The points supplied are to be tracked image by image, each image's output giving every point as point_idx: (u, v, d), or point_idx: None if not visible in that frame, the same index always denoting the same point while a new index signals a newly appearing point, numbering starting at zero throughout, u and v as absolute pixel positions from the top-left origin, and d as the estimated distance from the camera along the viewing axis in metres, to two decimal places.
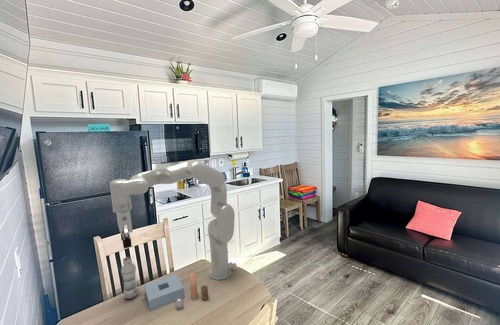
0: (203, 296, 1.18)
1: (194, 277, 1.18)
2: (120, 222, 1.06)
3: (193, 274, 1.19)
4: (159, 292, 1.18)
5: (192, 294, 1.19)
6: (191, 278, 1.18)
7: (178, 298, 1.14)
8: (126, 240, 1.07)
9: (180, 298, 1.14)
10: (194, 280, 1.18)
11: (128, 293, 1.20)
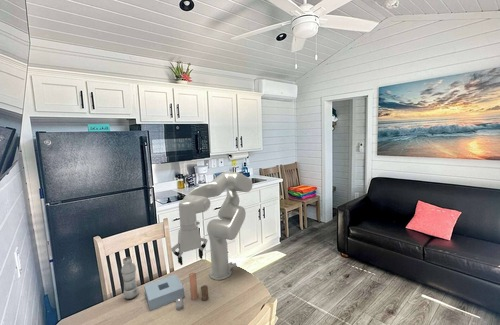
0: (203, 296, 1.18)
1: (194, 277, 1.18)
2: None
3: (193, 274, 1.19)
4: (159, 292, 1.18)
5: (192, 294, 1.19)
6: (191, 278, 1.18)
7: (178, 298, 1.14)
8: None
9: (180, 298, 1.14)
10: (194, 280, 1.18)
11: (128, 293, 1.20)
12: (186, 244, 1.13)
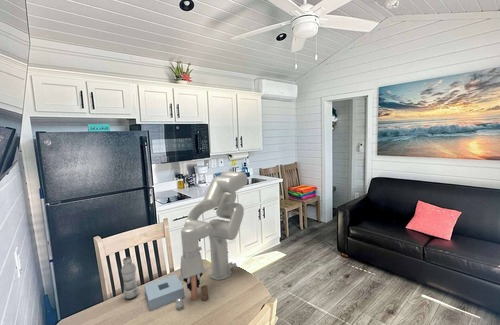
0: (203, 296, 1.18)
1: (194, 277, 1.18)
2: None
3: None
4: (159, 292, 1.18)
5: (192, 294, 1.19)
6: (191, 278, 1.18)
7: (178, 298, 1.14)
8: None
9: (180, 298, 1.14)
10: (194, 280, 1.18)
11: (128, 293, 1.20)
12: (188, 270, 1.15)
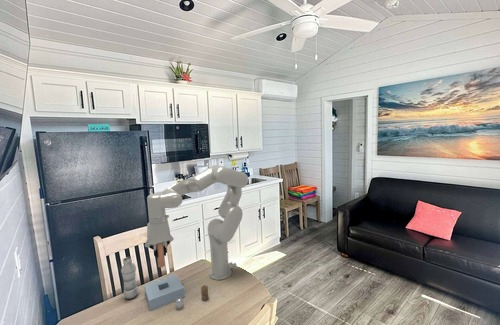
0: (203, 296, 1.18)
1: (161, 244, 1.18)
2: None
3: None
4: (159, 292, 1.18)
5: (159, 262, 1.19)
6: (158, 245, 1.18)
7: (178, 298, 1.14)
8: None
9: (180, 298, 1.14)
10: (161, 247, 1.18)
11: (128, 293, 1.20)
12: (154, 237, 1.15)
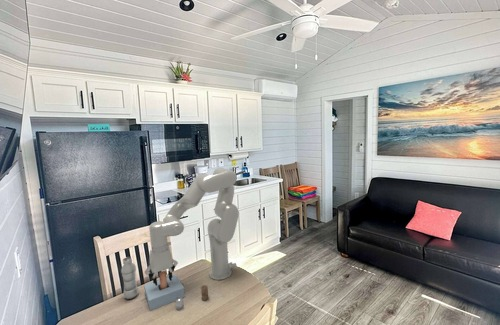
0: (203, 296, 1.18)
1: (164, 275, 1.20)
2: (171, 256, 1.21)
3: (163, 272, 1.22)
4: (159, 292, 1.18)
5: None
6: (161, 276, 1.20)
7: (178, 298, 1.14)
8: None
9: (180, 298, 1.14)
10: (164, 278, 1.21)
11: (128, 293, 1.20)
12: (157, 265, 1.18)
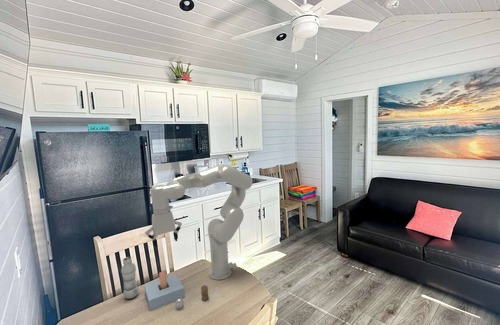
0: (203, 296, 1.18)
1: (164, 275, 1.20)
2: (173, 219, 1.22)
3: (163, 272, 1.22)
4: (159, 292, 1.18)
5: None
6: (160, 276, 1.20)
7: (178, 298, 1.14)
8: None
9: (180, 298, 1.14)
10: (164, 278, 1.21)
11: (128, 293, 1.20)
12: (160, 227, 1.18)
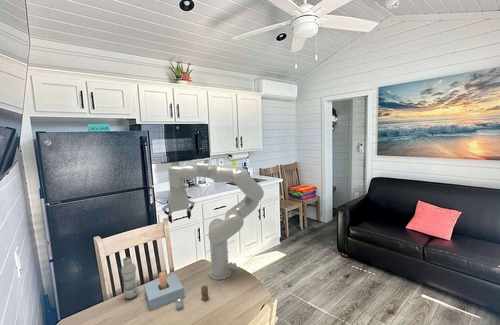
0: (203, 296, 1.18)
1: (164, 275, 1.20)
2: (187, 198, 1.32)
3: (163, 272, 1.22)
4: (159, 292, 1.18)
5: None
6: (160, 276, 1.20)
7: (178, 298, 1.14)
8: None
9: (180, 298, 1.14)
10: (164, 278, 1.21)
11: (128, 293, 1.20)
12: (175, 204, 1.28)
